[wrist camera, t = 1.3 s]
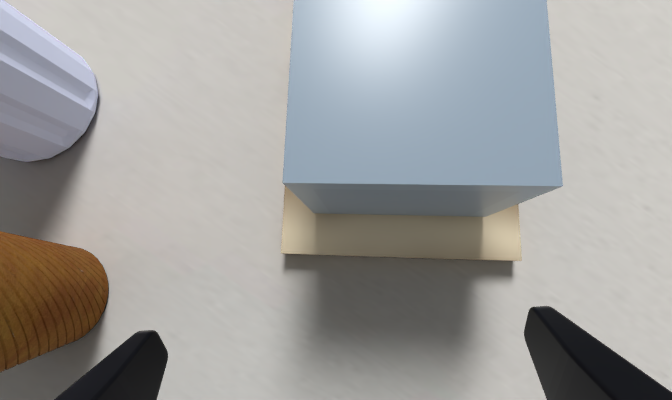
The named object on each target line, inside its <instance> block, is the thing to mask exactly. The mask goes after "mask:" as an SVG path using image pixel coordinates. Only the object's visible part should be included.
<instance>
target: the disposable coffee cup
mask: <svg viewBox="0 0 672 400" xmlns="http://www.w3.org/2000/svg"><path fill="white" fill-rule="evenodd" d="M107 297H108V281H107V276H106V273H105V270H104V268H103V266H102V264H101V263H100V262H99V260H98V259H97V258H96V257H95V256H94V255H93V254H92V253H90V252H88V251H86V250H84V249H81V248H76V247H71V246H66V245H62V244H57V243H52V242H48V241H43V240H38V239H33V238H28V237H24V236H19V235H15V234H9V233H5V232H1V231H0V372H2V371H4V370H5V369H6V370H7V369H9V368H12V367H14V366H16V365H17V364H21V363H24V362H26V361H27V360H31V359H33V358H35V357H37V356H40V355H42V354H45V353H47V352H50V351H52V350H54V349H56V348H59V347H61V346H64V345H65V344H69V343H71V342H74V341H76V340H78V339H80V338H81V337H83V336H85V335H86V334H87V333H88V332H89V331H90V330H91V329H92V328H93V327H94V326H95V325H96V323H97V322H98V321H99V319H100V317H101V315H102V313H103V311H104V308H105V305H106V302H107Z"/></svg>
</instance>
